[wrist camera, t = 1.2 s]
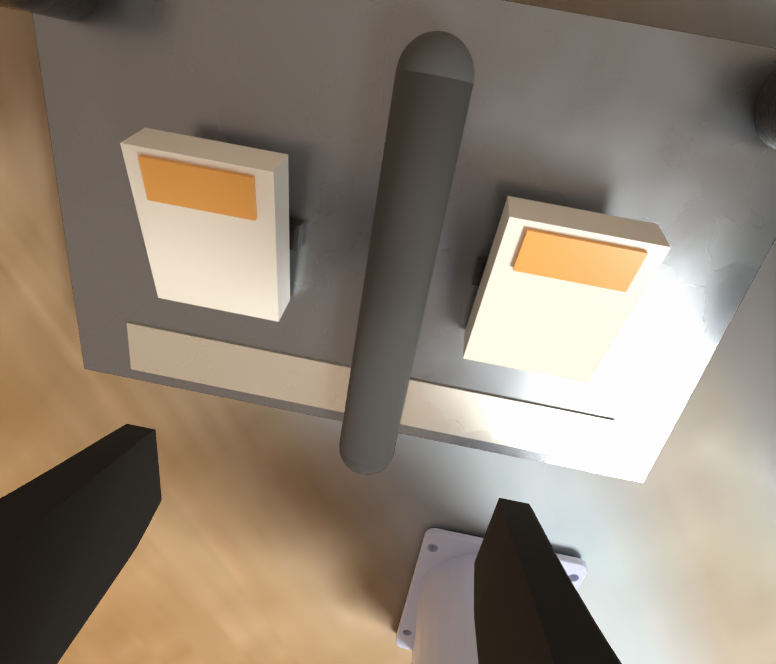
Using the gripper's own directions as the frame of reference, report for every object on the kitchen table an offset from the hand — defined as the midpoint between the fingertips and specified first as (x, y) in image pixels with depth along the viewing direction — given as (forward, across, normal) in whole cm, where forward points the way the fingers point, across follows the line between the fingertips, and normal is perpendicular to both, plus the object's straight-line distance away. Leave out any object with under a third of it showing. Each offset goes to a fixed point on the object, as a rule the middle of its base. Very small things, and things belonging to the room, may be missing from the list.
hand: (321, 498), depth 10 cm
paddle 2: (+6, -5, -3) cm, 9 cm away
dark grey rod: (+8, -1, -2) cm, 8 cm away
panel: (+10, 0, -3) cm, 10 cm away
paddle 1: (+6, +5, -3) cm, 8 cm away
